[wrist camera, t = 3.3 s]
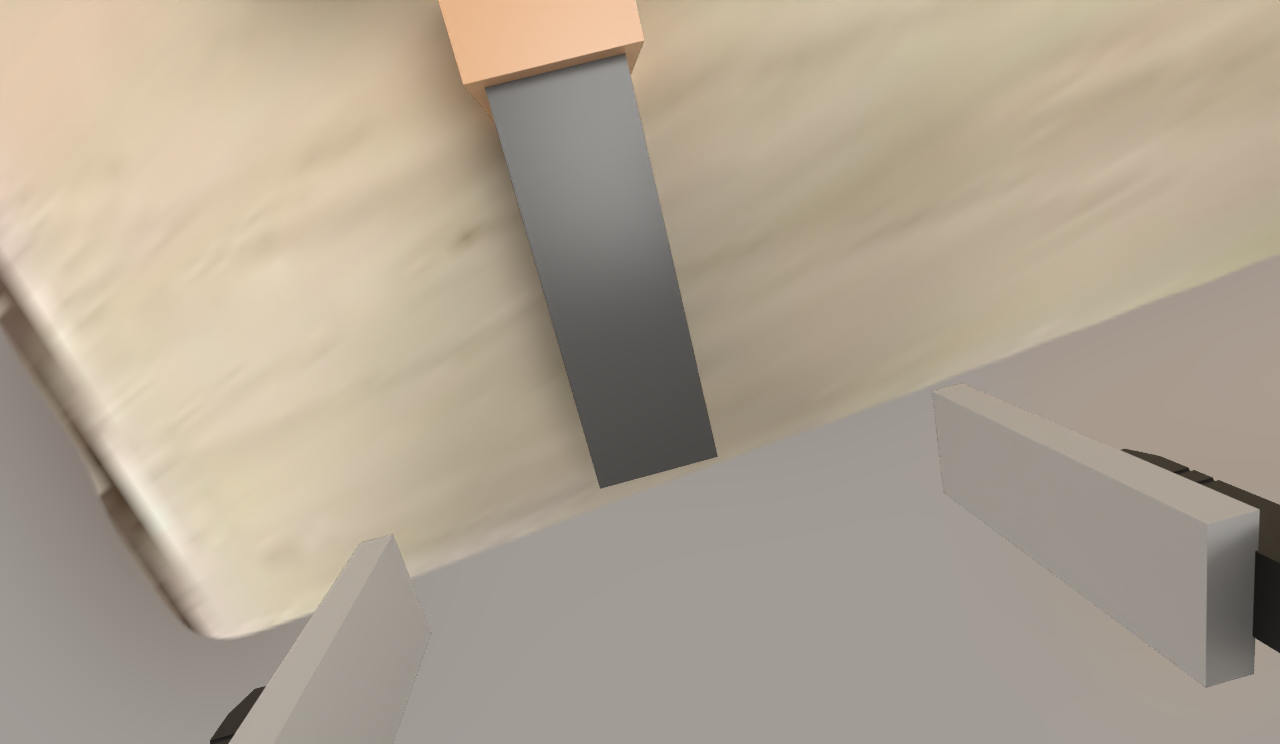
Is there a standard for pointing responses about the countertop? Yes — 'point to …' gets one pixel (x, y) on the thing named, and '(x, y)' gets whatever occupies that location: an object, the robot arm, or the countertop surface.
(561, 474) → the countertop surface
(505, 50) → the plug
